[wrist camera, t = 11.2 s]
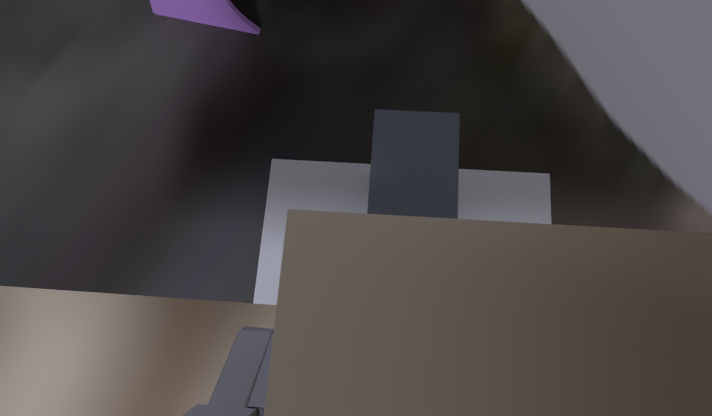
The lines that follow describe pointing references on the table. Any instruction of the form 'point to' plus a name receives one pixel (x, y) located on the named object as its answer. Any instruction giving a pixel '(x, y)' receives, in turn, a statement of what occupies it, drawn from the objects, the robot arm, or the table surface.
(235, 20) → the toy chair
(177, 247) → the table surface
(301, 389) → the balance beam
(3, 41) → the table surface
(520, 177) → the ridge stand
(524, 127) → the table surface
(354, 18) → the table surface
